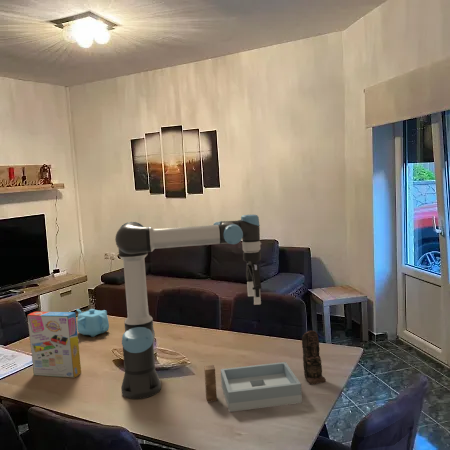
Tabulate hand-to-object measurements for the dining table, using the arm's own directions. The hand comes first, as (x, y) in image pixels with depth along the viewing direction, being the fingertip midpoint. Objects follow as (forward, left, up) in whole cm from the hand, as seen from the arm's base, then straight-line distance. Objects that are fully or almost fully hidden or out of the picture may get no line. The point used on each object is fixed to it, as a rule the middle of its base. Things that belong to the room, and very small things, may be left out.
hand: (254, 300), depth 195 cm
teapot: (-79, +65, -28) cm, 106 cm away
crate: (-5, -28, -28) cm, 40 cm away
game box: (-86, +12, -28) cm, 91 cm away
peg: (-23, -27, -28) cm, 45 cm away
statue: (+18, -22, -28) cm, 40 cm away
